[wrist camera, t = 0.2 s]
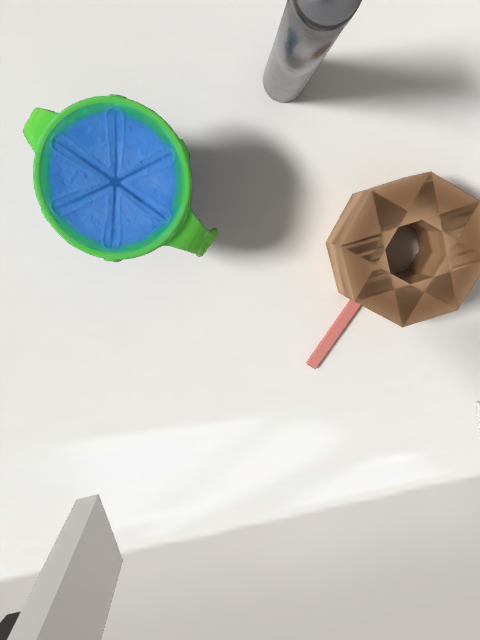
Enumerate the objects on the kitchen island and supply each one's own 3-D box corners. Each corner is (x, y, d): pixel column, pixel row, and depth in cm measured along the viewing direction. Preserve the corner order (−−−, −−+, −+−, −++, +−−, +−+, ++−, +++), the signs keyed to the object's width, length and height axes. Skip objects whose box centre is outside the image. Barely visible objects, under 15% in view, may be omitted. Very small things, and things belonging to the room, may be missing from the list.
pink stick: (376, 261, 41) (378, 262, 40) (384, 267, 41) (386, 267, 40) (306, 362, 43) (307, 364, 42) (314, 367, 43) (315, 369, 42)
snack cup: (31, 175, 37) (-36, 158, 27) (106, 78, 36) (64, 24, 26) (168, 291, 40) (153, 314, 30) (242, 206, 39) (252, 201, 29)
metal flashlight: (257, 63, 36) (288, -54, 21) (298, 50, 36) (360, -78, 21) (269, 108, 37) (307, 28, 22) (309, 95, 37) (377, 5, 21)
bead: (316, 205, 39) (330, 203, 34) (441, 165, 39) (473, 157, 34) (346, 325, 42) (363, 339, 37) (463, 288, 42) (496, 297, 37)
